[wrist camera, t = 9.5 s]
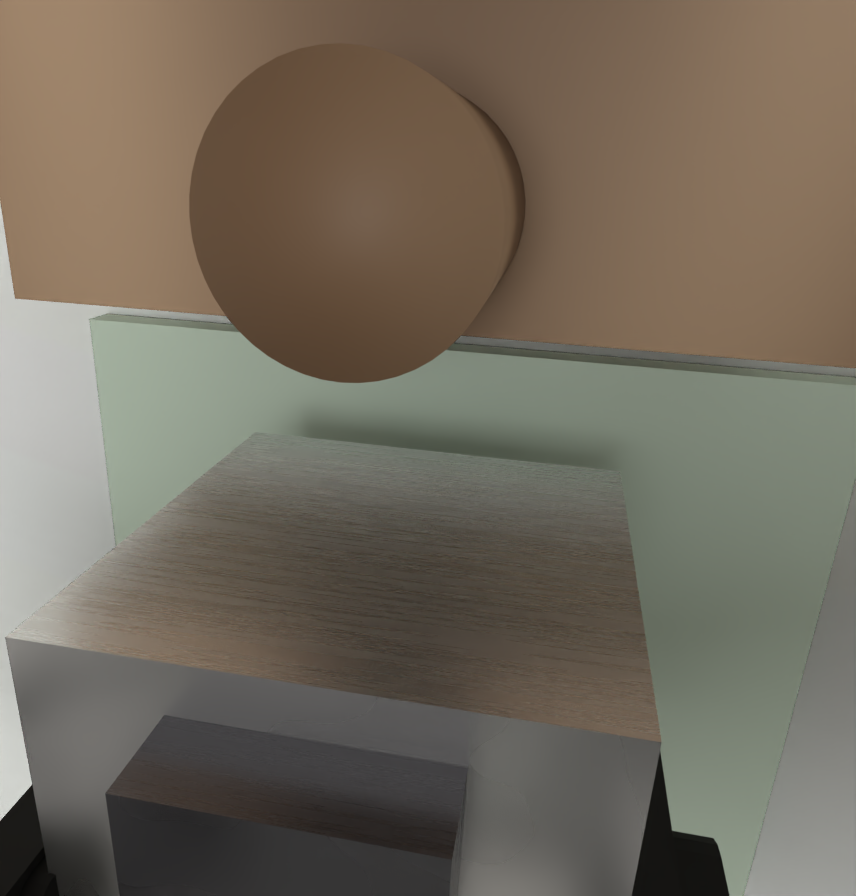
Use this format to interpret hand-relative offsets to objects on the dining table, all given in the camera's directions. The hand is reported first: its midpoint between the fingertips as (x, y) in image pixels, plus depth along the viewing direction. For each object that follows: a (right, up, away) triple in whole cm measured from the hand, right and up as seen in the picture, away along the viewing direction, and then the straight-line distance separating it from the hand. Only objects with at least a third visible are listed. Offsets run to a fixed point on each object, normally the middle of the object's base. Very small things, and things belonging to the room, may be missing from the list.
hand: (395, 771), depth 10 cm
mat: (+1, +1, +4) cm, 4 cm away
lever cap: (0, +1, +2) cm, 2 cm away
